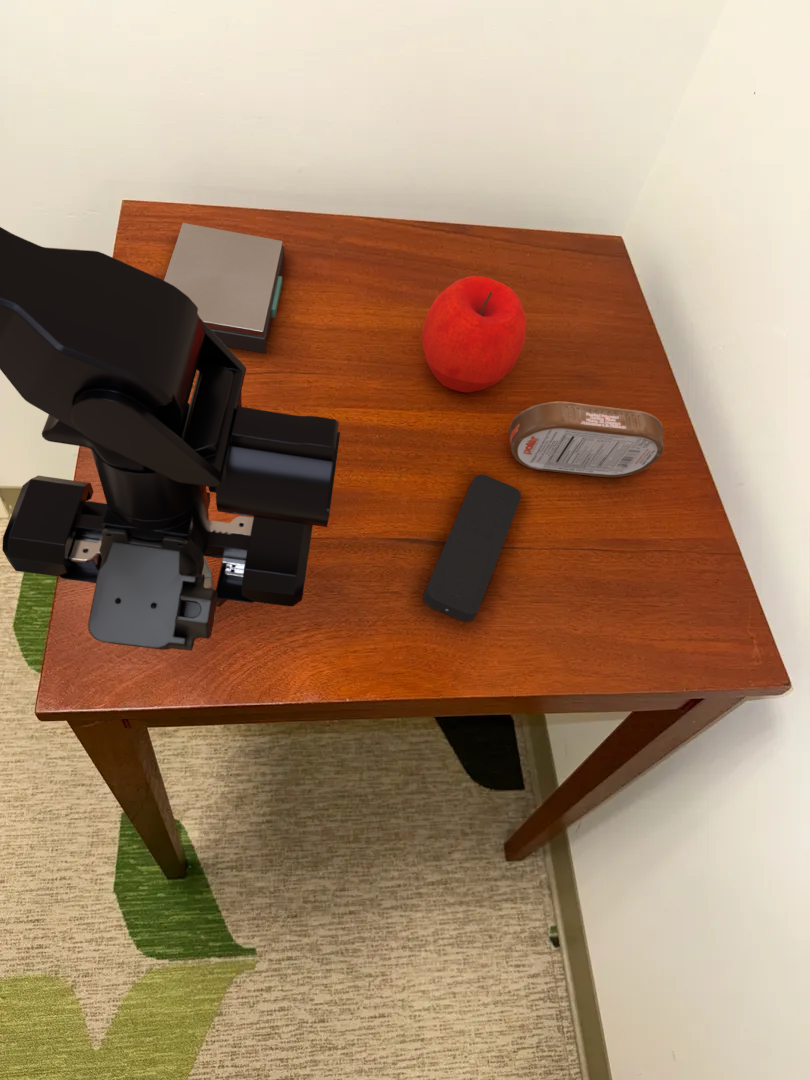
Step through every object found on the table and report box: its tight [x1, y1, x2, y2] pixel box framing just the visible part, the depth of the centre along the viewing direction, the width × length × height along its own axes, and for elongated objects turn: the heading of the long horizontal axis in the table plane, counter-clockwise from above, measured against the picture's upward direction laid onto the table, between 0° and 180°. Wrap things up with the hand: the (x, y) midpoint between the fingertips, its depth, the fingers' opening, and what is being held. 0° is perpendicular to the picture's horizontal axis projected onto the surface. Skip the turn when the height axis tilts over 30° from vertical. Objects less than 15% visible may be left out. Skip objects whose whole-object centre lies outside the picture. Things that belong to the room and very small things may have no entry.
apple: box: [421, 275, 528, 393], centre depth 75 cm, size 10×10×12 cm
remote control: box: [422, 474, 522, 623], centre depth 70 cm, size 5×2×15 cm
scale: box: [163, 222, 285, 354], centre depth 79 cm, size 11×14×3 cm
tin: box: [508, 400, 665, 479], centre depth 73 cm, size 15×3×8 cm, turn 90°
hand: (176, 595), depth 57 cm, fingers closed on small box, 6 cm apart
